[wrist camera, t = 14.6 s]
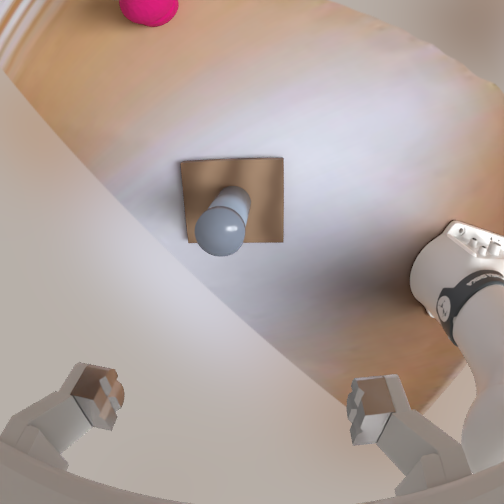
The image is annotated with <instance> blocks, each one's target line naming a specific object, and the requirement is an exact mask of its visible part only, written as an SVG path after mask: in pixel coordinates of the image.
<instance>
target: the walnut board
mask: <svg viewBox="0 0 504 504" xmlns="http://www.w3.org/2000/svg"><path fill="white" fill-rule="evenodd" d="M181 174H182V186H183V197H184V207H185V217H186V226H187V235H188V243H198V242H197V240H196V238H195V225H196V222H197V220H198V219H199V217H200V216H201V215H202V213H203V212H204V211H206V210H207V209H208V208H209V206H210V205H211V203H212V202H213V200H214V199H215V197H216V196H217V195H218V193H219V192H220V191H221V190H222V189H223V188H225V187H228V186H238V187H241V188H242V189H244V190H245V191H246V192H247V193H248V194H249V196H250V198H251V209H250V212H249V216H248V220H247V223H246V227H245V228H246V232H245V237H244V241H243V243H251V242H283V218H284V165H283V158H238V159H212V160H193V161H183V162H181Z"/></svg>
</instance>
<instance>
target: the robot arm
mask: <svg viewBox="0 0 504 504" xmlns="http://www.w3.org/2000/svg"><path fill="white" fill-rule="evenodd" d="M460 228H461V230H460V231H459V229H460ZM410 287H411V291H412V293H413V295H414V297H415V298H416V299H417V300H418V301H419V302H420V303H422V304H423V305H424V306H425V308H426V311H427V313H428V314H429V315H430V316H431V317H432V318H435V319H436V320H437V321H438V322H439V323H440V325H441V326H442V327H443V329H444V331H445V332H446V334H447V335H448V338H449V339H450V340H451V341H452V342H453V344H454V345H456V346H457V347H459V349H460V351H461V352H462V354H463V356H464V358H465V359H466V361H467V363H468V365H469V367H470V369H471V371H472V373H473V376H474V379H475V383H476V398H475V400H474V402H473V403H472V405H471V407H470V409H469V411H468V413H467V416H466V418H465V421H464V425H463V430H462V445H461V444H460V443H458V442H457V441H456V440H454V439H453V438H452V437H450V436H449V435H448V434H446V433H445V432H443V430H441V429H440V428H438V427H437V426H436V425H434V424H433V423H432V422H431V421H429V420H428V419H427V418H425V417H424V416H423V415H421V414H420V413H419V412H418V411H416V410H411V408H410V406H409V403H408V400H407V397H406V394H405V392H404V389H403V386H402V384H401V381H400V378H399V376H398V375H397V374H393V375H384V376H373V377H363V378H354V380H353V381H352V385H351V387H352V392H351V393H350V394H349V395H348V399H347V416H348V420H349V421H350V422H351V423H352V426H351V428H350V433H351V439H352V444H353V445H363V444H372V443H377V446H378V447H379V448H380V449H381V450H382V451H383V452H384V453H385V454H386V455H387V456H388V457H389V459H390V460H391V461H392V462H393V463H394V464H395V465H396V466H397V467H398V468H399V469H400V470H401V471H402V473H403V474H404V475H406V477H405V478H404V479H403V481H402V482H401V483H400V484H399V485H398V486H397V487H396V488H395V494H396V497H392V498H387V499H383V500H377V501H371V502H365V503H358V504H504V236H502V235H499V234H496V233H493V232H490V231H487V230H484V229H481V228H478V227H475V226H472V225H469V224H466V223H463V222H460V221H456V220H455V221H452V222H451V223H450V224H449V225H448V226H447V228H446V229H445V230H444V232H443V233H442V234H441V235H440V236H438V237H437V238H435V239H434V240H432V241H431V242H430V243H428V244H427V245H426V246H425V247H424V248H423V250H422V251H421V252H420V253H419V255H418V256H417V258H416V260H415V262H414V264H413V267H412V270H411V274H410ZM117 377H118V375H117V373H116V371H115V369H110V368H105V367H100V366H96V365H91V364H85V363H81V362H79V363H77V364H75V366H74V367H73V369H72V371H71V372H70V374H69V375H68V377H67V379H66V380H65V382H64V383H63V385H62V387H61V388H60V390H59V392H57V391H55V392H53V393H51V394H50V395H48V396H46V397H45V398H43V399H41V400H40V401H38V402H36V403H34V404H32V405H31V406H29V407H27V408H26V409H24V410H22V411H20V412H19V413H17V414H15V415H13V416H12V417H11V419H10V420H9V422H8V424H7V425H6V427H5V429H4V430H3V432H2V434H1V436H0V504H191V503H184V502H178V501H172V500H167V499H161V498H156V497H151V496H147V495H142V494H138V493H134V492H130V491H126V490H122V489H118V488H115V487H112V486H108V485H104V484H101V483H98V482H95V481H92V480H89V479H86V478H83V477H80V476H78V475H75V474H72V473H69V472H67V468H68V462H67V461H66V460H65V459H64V458H63V457H62V456H61V455H60V454H61V453H62V452H63V451H65V450H66V449H67V448H68V447H69V446H71V445H72V444H73V443H74V442H76V441H77V440H78V439H79V438H80V437H82V436H83V435H84V434H85V433H86V432H88V431H89V430H90V429H91V428H92V427H97V428H102V429H106V430H111V431H112V429H113V426H114V424H115V421H116V419H117V415H116V411H117V410H119V409H120V408H121V407H122V405H123V402H124V389H123V386H122V384H121V383H120V382H118V381H117V380H116V379H117ZM471 472H472V473H473V474H472V473H471Z"/></svg>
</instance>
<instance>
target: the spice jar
mask: <svg viewBox="0 0 504 504" xmlns="http://www.w3.org/2000/svg"><path fill="white" fill-rule="evenodd" d="M250 209H251V198H250V196H249V194H248V193H247V192H246V191H245V190H244V189H242V188H241V187H238V186H228V187H225V188H223V189H222V190H221V191H220V192H219V193H218V195H217V196H216V197H215V199H214V200H213V202H212V203H211V205H210V206H209V208H208V209H207V210H206V211H204V212H203V213H202V215H201V216H200V217H199V219H198V220H197V222H196V225H195V238H196V240H197V242H198V244H199V246H200V247H201V248H202V249H203V250H204V251H206V252H207V253H209V254H211V255H214V256H228V255H231V254H233V253H235V252H236V251H237V250H238V249H239V248H240V247H241V245H242V243H243V241H244V237H245V232H246V228H245V227H246V223H247V220H248V216H249V212H250Z"/></svg>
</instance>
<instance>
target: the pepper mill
mask: <svg viewBox="0 0 504 504" xmlns="http://www.w3.org/2000/svg"><path fill="white" fill-rule="evenodd" d="M119 4H120V8H121V11H122V13H123V14H124V16H125V17H126V18H128V19H129V20H130V21H132V22H134V23H138V24H144V25H146V26H149V27H157V26H161V25H163V24H165V23H167V22H168V21H170V20H171V19H172V18H173V17H174V15H175V14H176V12H177V10H178V0H119Z"/></svg>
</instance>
